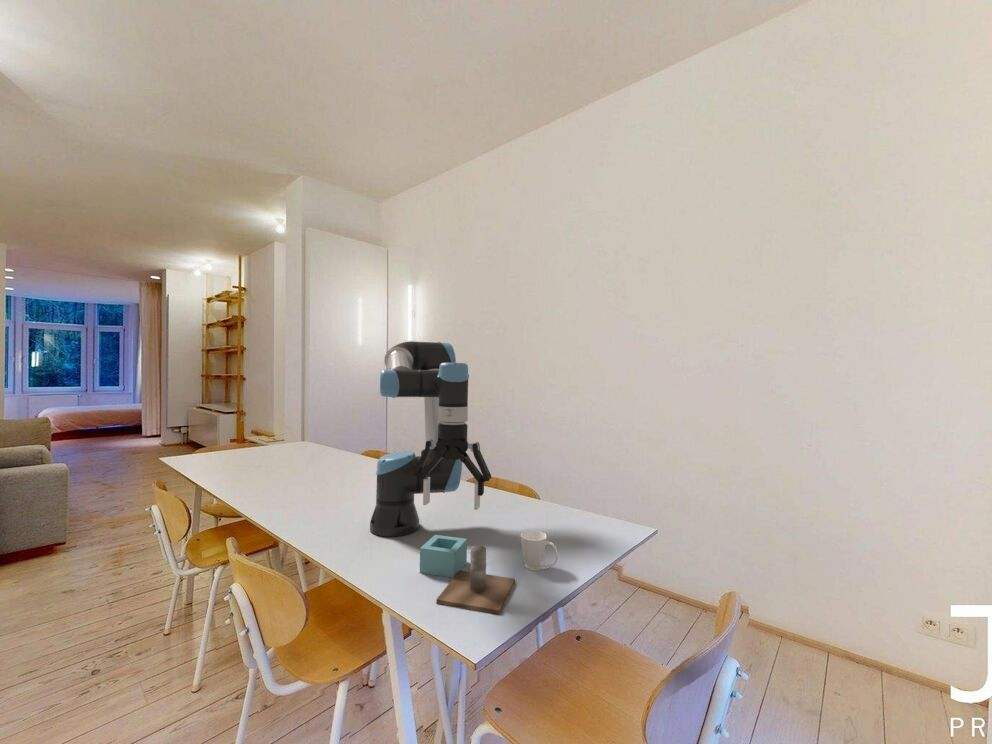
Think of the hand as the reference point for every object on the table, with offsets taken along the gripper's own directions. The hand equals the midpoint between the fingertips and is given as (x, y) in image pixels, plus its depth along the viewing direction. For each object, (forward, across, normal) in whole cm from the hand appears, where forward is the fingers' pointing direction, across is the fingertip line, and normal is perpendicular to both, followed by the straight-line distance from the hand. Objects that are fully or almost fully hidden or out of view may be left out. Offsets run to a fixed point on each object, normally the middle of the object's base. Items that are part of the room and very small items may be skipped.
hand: (451, 505), depth 108 cm
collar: (+15, -1, -1) cm, 15 cm away
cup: (+15, +22, +4) cm, 27 cm away
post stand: (+15, +10, -11) cm, 21 cm away
